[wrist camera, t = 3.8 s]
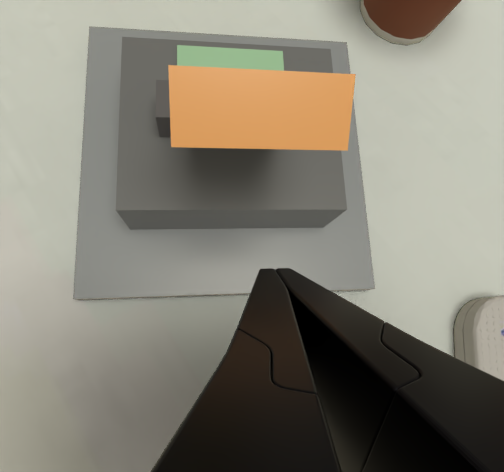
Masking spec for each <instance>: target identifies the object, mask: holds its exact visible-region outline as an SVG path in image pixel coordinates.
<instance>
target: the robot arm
mask: <svg viewBox="0 0 504 472" xmlns="http://www.w3.org/2000/svg"><path fill="white" fill-rule="evenodd" d="M151 472H504V381H503V380H501V379H499V378H497V377H495V376H493V375H490V374H488V373H486V372H484V371H482V370H480V369H478V368H476V367H474V366H472V365H470V364H468V363H465V362H463V361H461V360H459V359H457V358H455V357H453V356H451V355H449V354H447V353H445V352H442V351H440V350H438V349H436V348H434V347H432V346H430V345H428V344H426V343H424V342H422V341H420V340H418V339H416V338H415V337H413V336H411V335H409V334H407V333H405V332H403V331H402V330H400V329H398V328H396V327H394V326H393V325H391V324H389V323H387V322H385V323H384V321H383V320H381V319H379V318H377V317H376V316H374V315H372V314H370V313H369V312H367V311H365V310H363V309H361V308H360V307H358V306H356V305H354V304H353V303H351V302H349V301H347V300H346V299H344V298H342V297H340V296H338V295H337V294H335V293H333V292H331V291H330V290H328V289H326V288H324V287H323V286H321V285H319V284H317V283H315V282H314V281H312V280H310V279H308V278H307V277H305V276H303V275H301V274H299V273H298V272H296V271H294V270H292V269H291V268H277V269H273V268H266V269H260V270H259V272H258V275H257V277H256V280H255V282H254V285H253V288H252V290H251V293H250V295H249V298H248V301H247V303H246V306H245V308H244V311H243V314H242V316H241V319H240V321H239V324H238V327H237V329H236V331H235V333H234V336H233V339H232V341H231V343H230V345H229V348H228V350H227V352H226V354H225V356H224V357H223V359H222V361H221V362H220V364H219V366H218V368H217V369H216V371H215V372H214V374H213V375H212V377H211V378H210V380H209V382H208V383H207V385H206V386H205V388H204V389H203V391H202V393H201V394H200V396H199V397H198V399H197V400H196V402H195V403H194V405H193V407H192V408H191V410H190V411H189V413H188V414H187V416H186V417H185V419H184V421H183V422H182V424H181V425H180V427H179V428H178V430H177V431H176V433H175V435H174V436H173V438H172V439H171V441H170V442H169V444H168V445H167V447H166V449H165V450H164V452H163V453H162V455H161V456H160V458H159V459H158V461H157V463H156V464H155V466H154V467H153V469H152V470H151Z"/></svg>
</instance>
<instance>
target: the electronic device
mask: <svg viewBox="0 0 504 472" xmlns="http://www.w3.org/2000/svg"><path fill="white" fill-rule="evenodd" d="M454 346H455V358H457V359H459V360H461V361H463V362H465V363H468V364H470V365H472V366H474V367H476V368H478V369H480V370H482V371H484V372H486V373H488V374H490V375H493V376H495V377H497V378H499V379H501V380H503V381H504V296H495V297H487V298H479V299H474V300H472V301H470V302H468V303H466V304H465V305H464V306H463V307H462V309H461V310H460V312H459V313H458V315H457V318H456V321H455V325H454Z"/></svg>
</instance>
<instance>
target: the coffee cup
mask: <svg viewBox="0 0 504 472" xmlns="http://www.w3.org/2000/svg"><path fill="white" fill-rule="evenodd" d="M460 1H461V0H360V11H361V13H362V16H363V18H364V20H365V23H366V24H367V25H368V26H369V28H370V29H371V30H372V31H373V32H374V33H375V34H376V35H377V36H379V37H381V38H383V39H385V40H387V41H389V42H390V43H395V44H401V45H410V44H415V43H420V42H421V41H422V40H424V39H425V38H426V37H428V36H429V35H430V34H431V33H432V31H433V30H434V29H435V28H436V27H437V26H438V25H439V24H440V23H441V22H442V20H443V19H444V18H445V17H446V16H447V15H448V14H449V13H450V12H451V11H452V10H453V9H454V8H455V7H456V6H457V5H458V4H459V2H460Z"/></svg>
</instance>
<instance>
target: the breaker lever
mask: <svg viewBox="0 0 504 472" xmlns="http://www.w3.org/2000/svg"><path fill="white" fill-rule="evenodd" d="M168 71H169V100H170V129H171V147H187V148H239V149H291V150H342V151H348V143H349V133H350V123H351V113H352V103H353V94H354V84H355V74H340V73H319V72H299V71H279V70H259V69H238V68H218V67H198V66H177V65H168Z"/></svg>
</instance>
